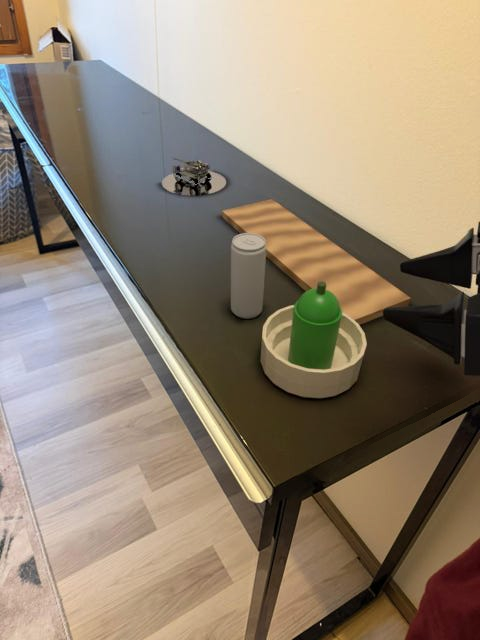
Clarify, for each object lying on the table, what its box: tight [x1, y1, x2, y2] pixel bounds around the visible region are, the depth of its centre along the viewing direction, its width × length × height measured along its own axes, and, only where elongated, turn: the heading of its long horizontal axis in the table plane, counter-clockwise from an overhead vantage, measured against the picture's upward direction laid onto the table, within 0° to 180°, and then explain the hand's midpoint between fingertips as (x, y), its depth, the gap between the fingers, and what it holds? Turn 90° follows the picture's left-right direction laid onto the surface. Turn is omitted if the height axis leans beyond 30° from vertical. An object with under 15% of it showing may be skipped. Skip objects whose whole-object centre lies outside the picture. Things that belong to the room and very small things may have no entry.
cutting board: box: [221, 198, 411, 326], centre depth 81 cm, size 40×12×2 cm, turn 29°
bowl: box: [260, 304, 368, 399], centre depth 59 cm, size 13×13×5 cm
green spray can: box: [288, 281, 342, 370], centre depth 56 cm, size 6×6×12 cm
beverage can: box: [230, 233, 267, 320], centre depth 65 cm, size 5×5×12 cm
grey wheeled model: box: [161, 156, 227, 196], centre depth 105 cm, size 15×15×5 cm
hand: (392, 288), depth 47 cm, fingers open, 9 cm apart
